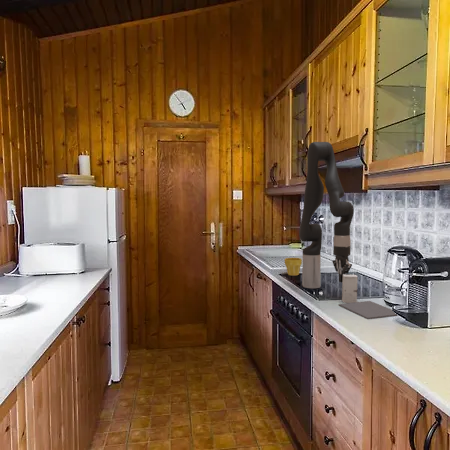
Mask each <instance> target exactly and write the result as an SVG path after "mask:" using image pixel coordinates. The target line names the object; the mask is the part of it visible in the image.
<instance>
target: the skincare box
mask: <svg viewBox="0 0 450 450" xmlns="http://www.w3.org/2000/svg"><path fill="white" fill-rule="evenodd" d="M341 283H342V284H341V286H342V287H341V289H342V290H341V292H342V293H341V301H342V302H343V303H342V304H344V303H354V302H358V276H357V274H351V273H350V274H349V273H347V274H343V282H341Z"/></svg>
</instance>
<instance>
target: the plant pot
mask: <svg viewBox="0 0 450 450" xmlns="http://www.w3.org/2000/svg"><path fill="white" fill-rule="evenodd" d="M284 265H285V267H286V271H287V275H288V276H291V277H292V276H293V277H294V276H298V275H300V270H301V266H302V265H303V258H300V257H287V258H284Z"/></svg>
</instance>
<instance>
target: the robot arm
mask: <svg viewBox="0 0 450 450" xmlns="http://www.w3.org/2000/svg"><path fill="white" fill-rule="evenodd" d="M307 148H308V149H307V156H306V157H307V163H306V164H307V165H306V166H307V167H306V181H305V188H304V195H303V197H304V199H303V209H302V215H301V221H300V225H299V236H298V237H299V238H300V239H299V240H300V242H303V243H304V242H309V243H310V242H311V244H310V245H308V246H305V247H304V248H303V249H302V269H301V272H302V274H301V275H302V276H301V277H302V278H301V280H302V281H301V284H302V287H303V288H306V289H320V288H321V280H322V279H321V276H322V275H321V271H322V269H321V262H322V261H321V260H322V259H321V254H322V253H321V251H322V241H323V229H322V226H321V225H320V224H319V223H311V220H312V217H313V215H314V214H315V212H316V211H317V210H318V209H319V207H321V204H322V202H323V199H324V194H325V193H324V192H325V189H326V190H327V194H328V198H329V199H328V201H329V211H330V213H331V215H332V216H333V217H335V218H340V220H339V221H337V222H335V223H334V225H333V252H332V253H333V255H334V256H335V257H334V260H332V262H331V263H332V265H333V268H334V270H335V272H336V273H337V274H338V282H339V283H342V282H343V274H349V273H350V270H351V268H352V267H353V264H352V263H350V262H349V261H350V259H349V256H350V255H351V241H352V240H351V225H352V221H353V217H354V212H355V209H354V205H353V203H351V202H349V201H341V199H342V198H343V197H344V195H345V191H344V187H343V185H342V183H341V180H340V177H339V172H338V167H337V161H336V157H335V151H334V148H333V145H332V143H331V142H329V141H312V142H311V143H310V144H309V145H308V147H307ZM319 162H324V163H325V166H326V175H325V179H324V183H323V181H322V178H321V176H320V174H319ZM324 186H325V187H324Z"/></svg>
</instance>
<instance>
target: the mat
mask: <svg viewBox="0 0 450 450" xmlns="http://www.w3.org/2000/svg"><path fill="white" fill-rule="evenodd" d="M338 306H339V307H341V308H343V309H345V310H347V311H349V312H352V313H353V314H356V315H358V316H359V317H362V318H364V319H367V320H372V319H380V318H389V317H397V314H395V313H394V312H393V311H392V310H393V309H392V308H389V307H387V306H384V305H381V304H379V303H376V302H373V301H372V300H367V301H357V302H354V303H338Z"/></svg>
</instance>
